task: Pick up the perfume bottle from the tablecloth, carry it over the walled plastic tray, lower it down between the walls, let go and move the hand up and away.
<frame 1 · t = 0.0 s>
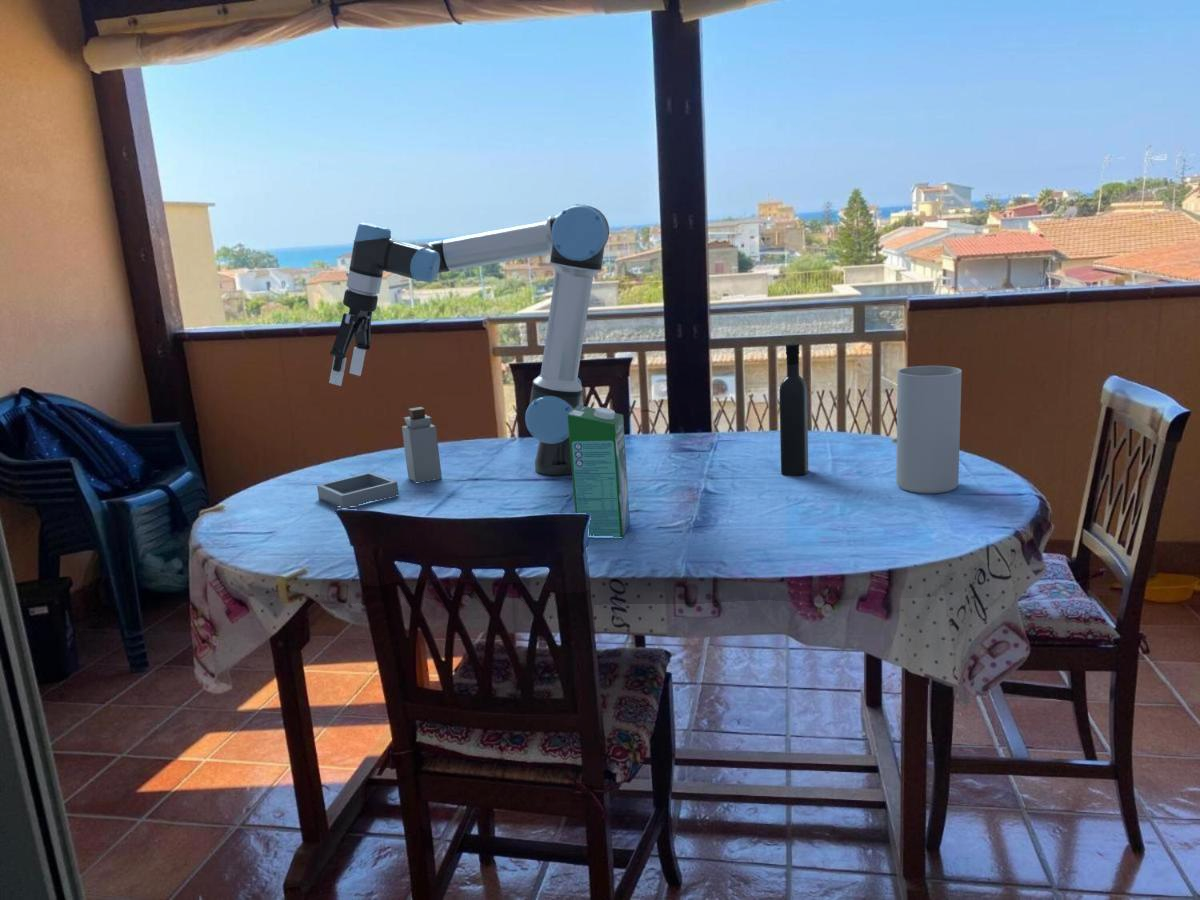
hand: (345, 379, 214), 28 cm above the table, tool tilted 20°, fingers open, 13 cm apart
wine bottle: (794, 473, 210), on the table
tray: (358, 497, 215), on the table
perfume bottle: (425, 478, 229), on the table
cylinder vase: (926, 487, 193), on the table
milk carton: (604, 531, 180), on the table
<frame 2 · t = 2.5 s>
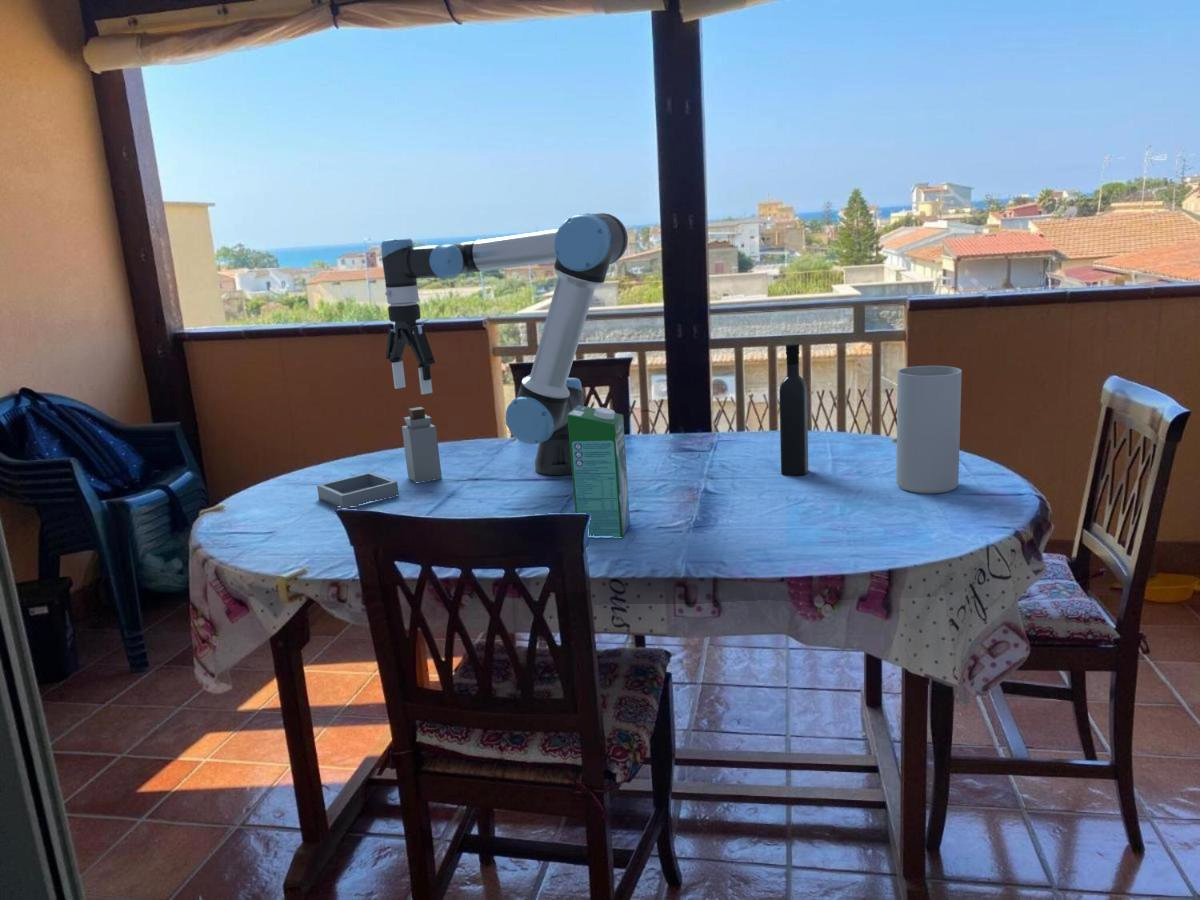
hand: (413, 390, 223), 23 cm above the table, tool pointing down, fingers open, 13 cm apart
nothing on the table moved.
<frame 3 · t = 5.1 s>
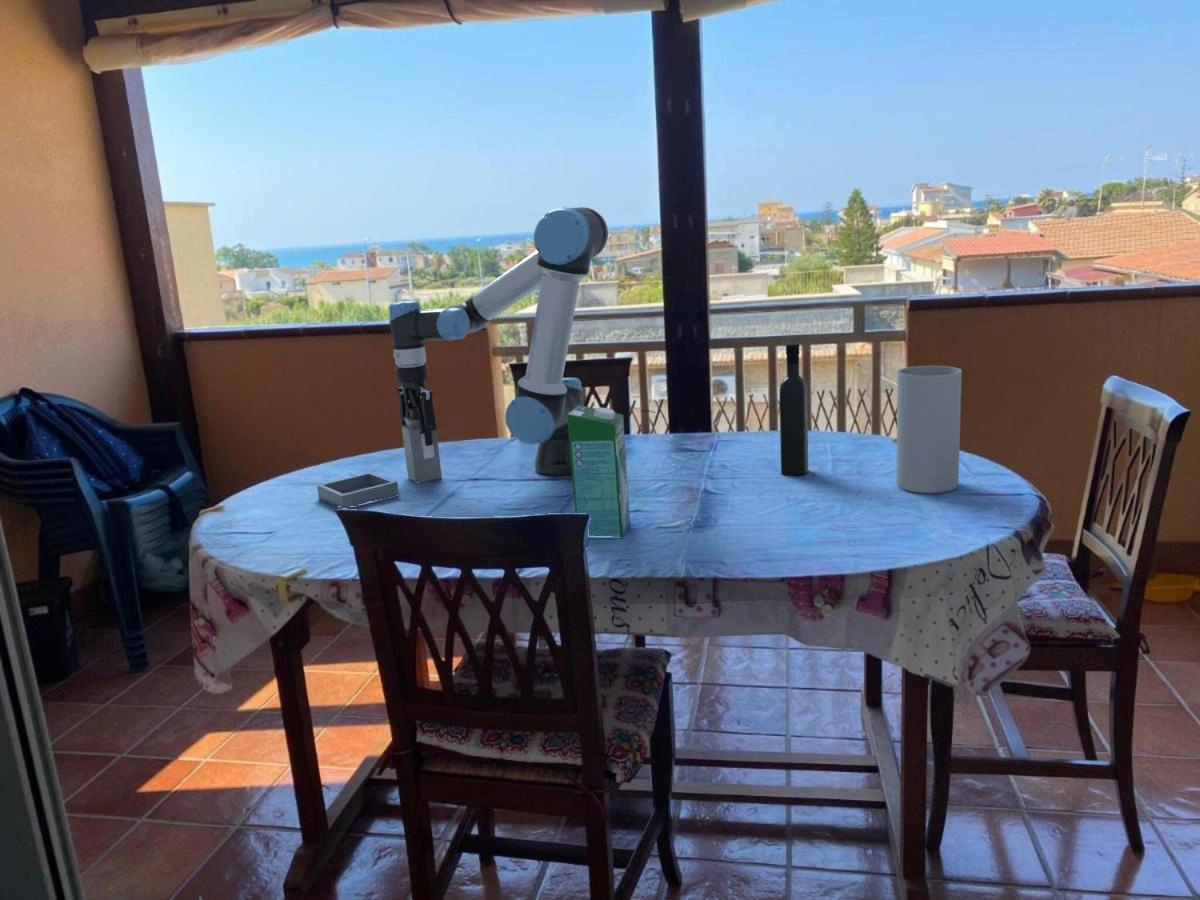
hand: (422, 455, 227), 6 cm above the table, tool pointing down, fingers closed on perfume bottle, 6 cm apart
perfume bottle: (425, 478, 229), on the table, touching gripper
everything else where it was.
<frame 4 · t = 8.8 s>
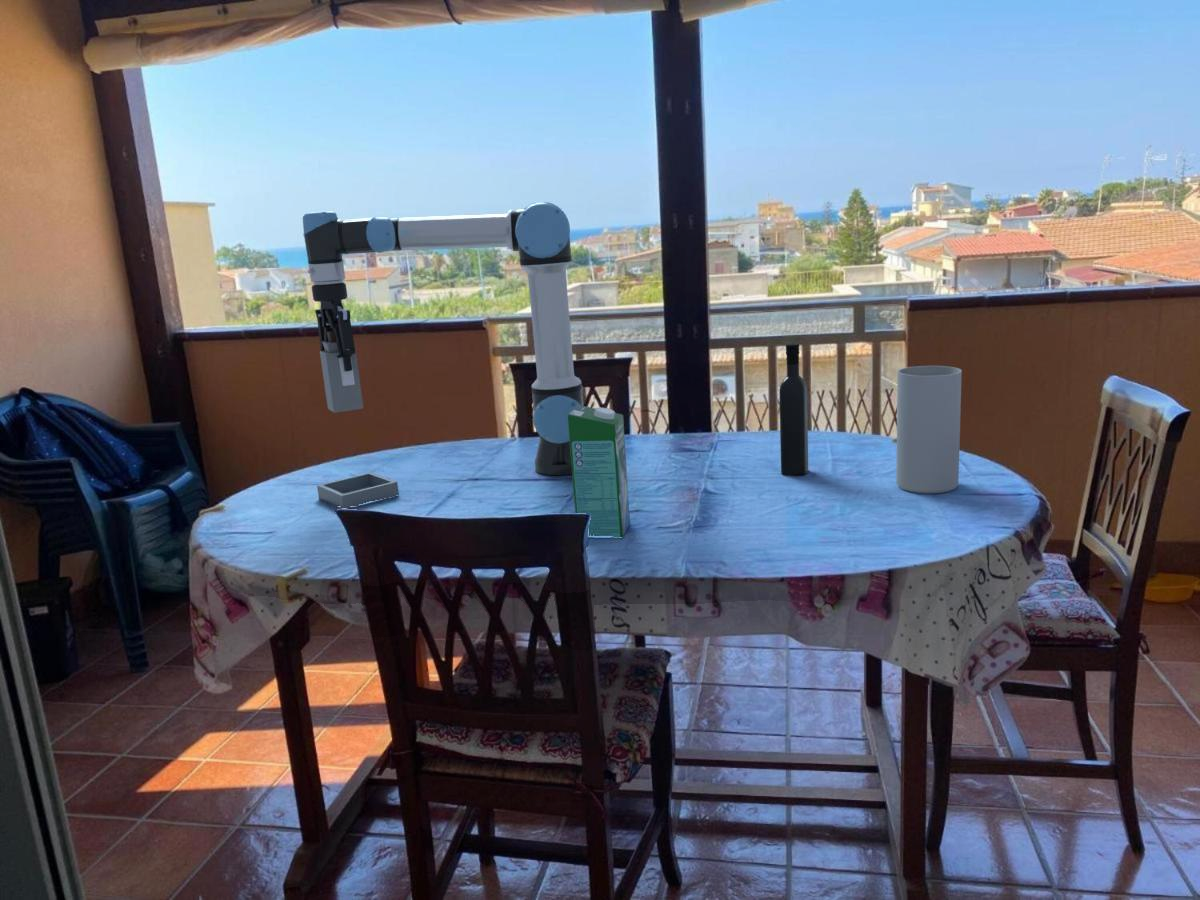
hand: (342, 383, 209), 28 cm above the table, tool pointing down, fingers closed on perfume bottle, 6 cm apart
perfume bottle: (345, 409, 210), point 22 cm above the table, touching gripper
everything else where it was.
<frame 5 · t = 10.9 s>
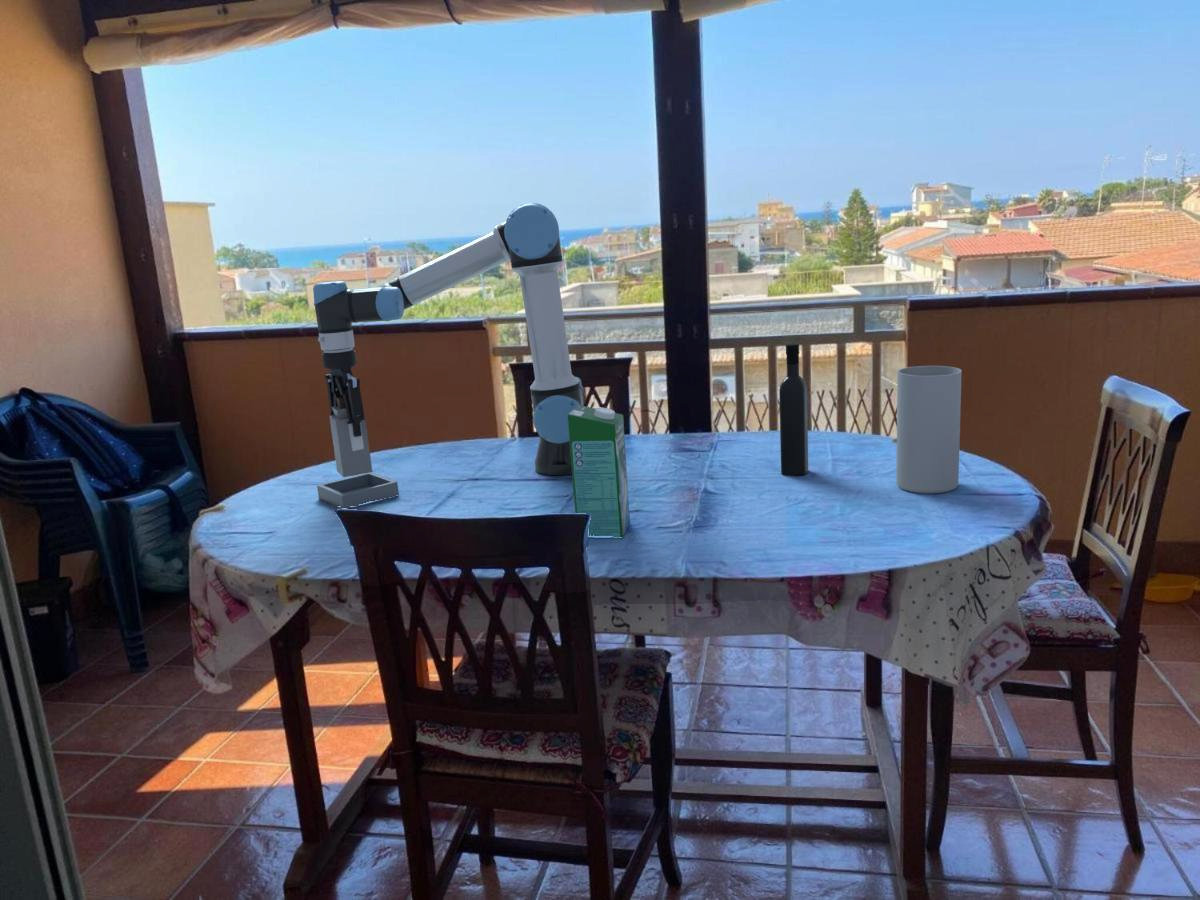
hand: (351, 447, 212), 12 cm above the table, tool pointing down, fingers closed on perfume bottle, 6 cm apart
perfume bottle: (354, 472, 214), point 6 cm above the table, touching gripper
everything else where it was.
when the fingers open (8 cm above the table, at t = 12.7 s): perfume bottle stays where it is, resting on tray.
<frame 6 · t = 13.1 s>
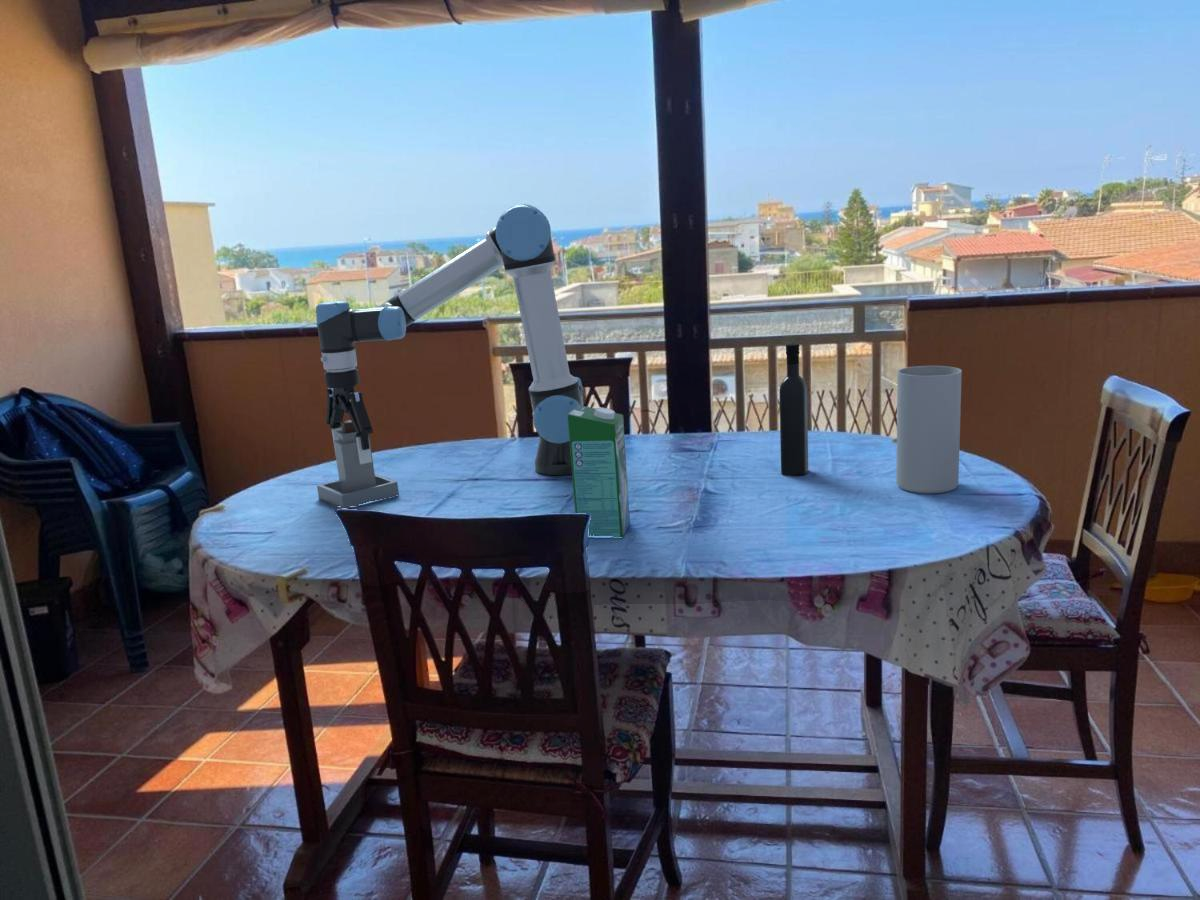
hand: (353, 458, 213), 10 cm above the table, tool pointing down, fingers open, 13 cm apart
perfume bottle: (359, 496, 215), resting on tray
everything else where it was.
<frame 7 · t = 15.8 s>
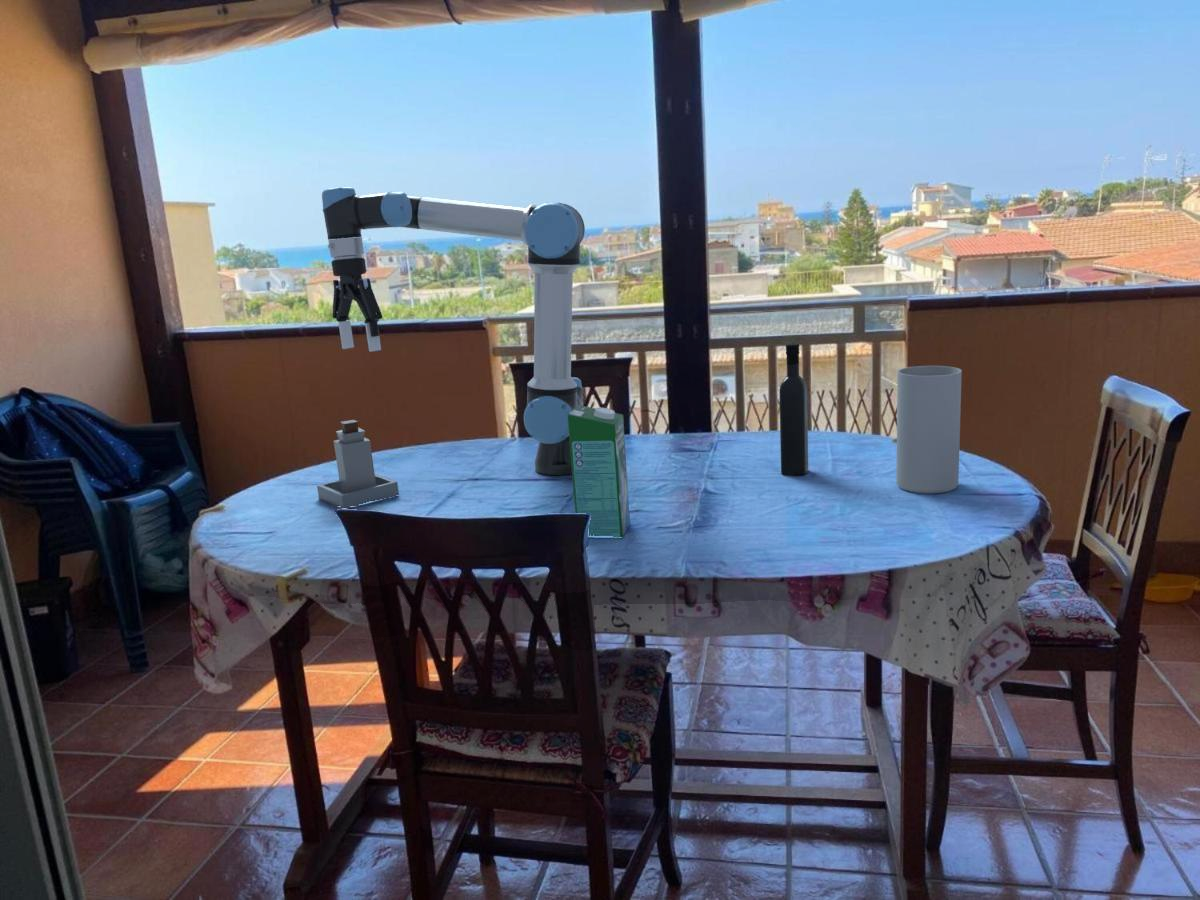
hand: (361, 349, 213), 35 cm above the table, tool pointing down, fingers open, 13 cm apart
nothing on the table moved.
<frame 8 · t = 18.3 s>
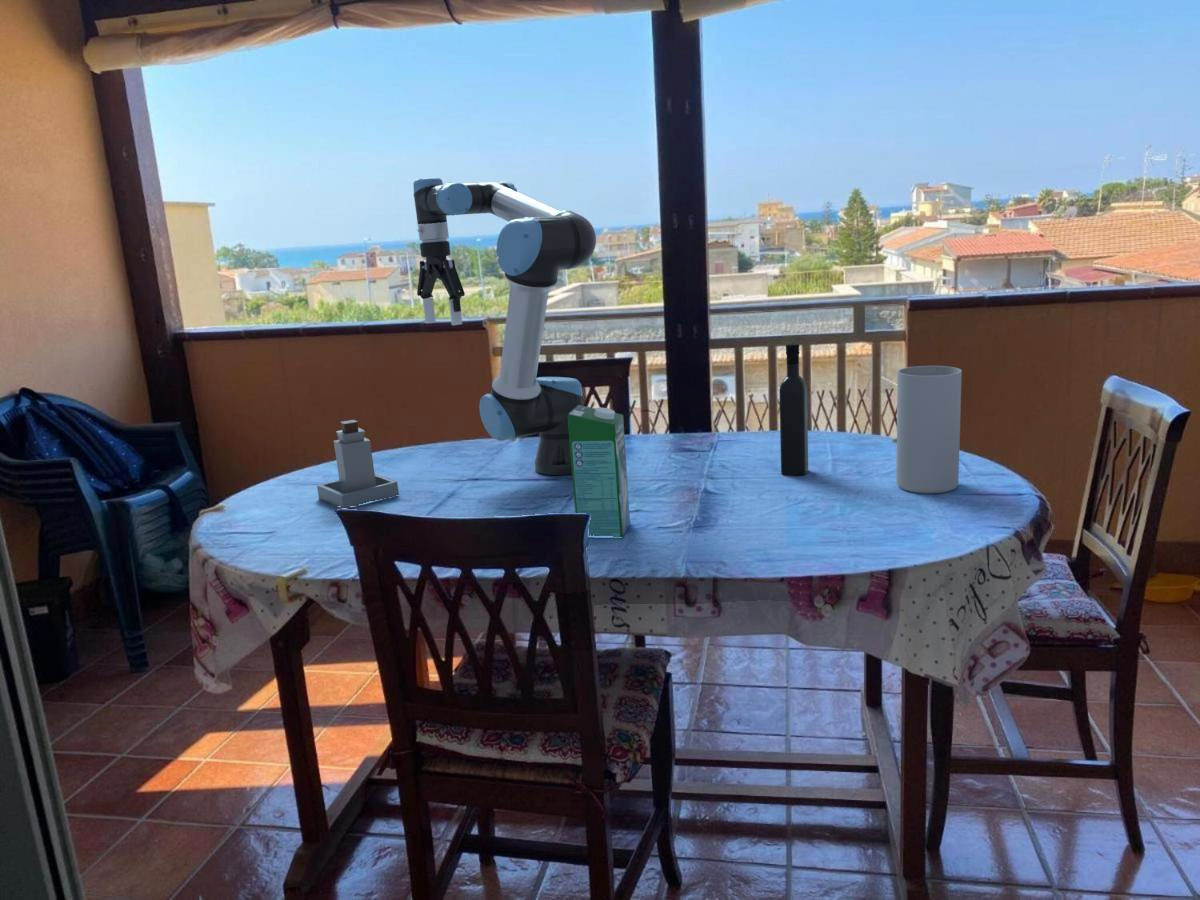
hand: (443, 323, 237), 37 cm above the table, tool pointing down, fingers open, 13 cm apart
nothing on the table moved.
at the end: perfume bottle 0.3 cm off-centre on the tray, point 0.4 cm above the tray's base; perfume bottle tilted 0°; the gripper is holding nothing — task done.
